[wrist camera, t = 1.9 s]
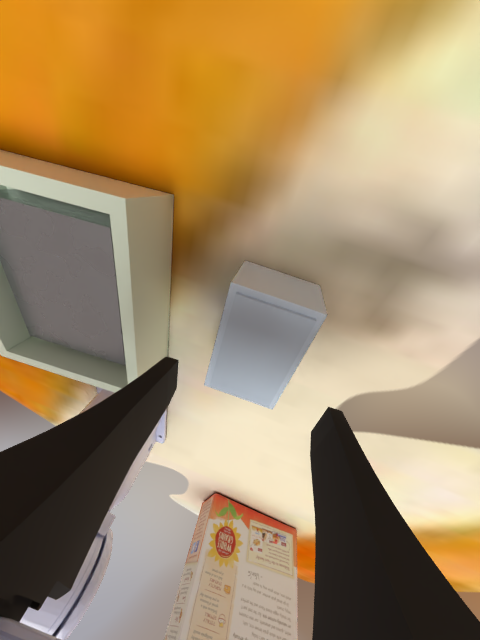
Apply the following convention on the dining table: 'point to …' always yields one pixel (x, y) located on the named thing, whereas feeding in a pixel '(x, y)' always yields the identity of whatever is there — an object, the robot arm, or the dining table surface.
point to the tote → (130, 263)
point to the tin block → (62, 272)
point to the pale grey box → (264, 333)
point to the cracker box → (237, 577)
